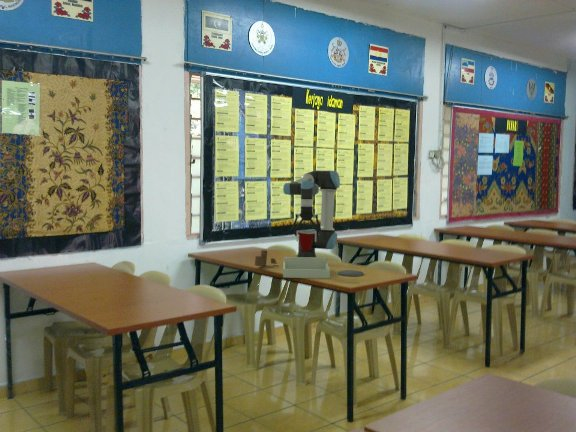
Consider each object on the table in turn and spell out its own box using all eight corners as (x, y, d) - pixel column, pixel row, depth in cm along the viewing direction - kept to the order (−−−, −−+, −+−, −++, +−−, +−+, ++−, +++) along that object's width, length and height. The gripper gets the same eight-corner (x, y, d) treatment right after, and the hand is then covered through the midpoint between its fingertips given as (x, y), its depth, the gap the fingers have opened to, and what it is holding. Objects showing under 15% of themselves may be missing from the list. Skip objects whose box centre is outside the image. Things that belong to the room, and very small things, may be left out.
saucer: (336, 271, 383) (336, 270, 383) (361, 271, 383) (361, 270, 383) (338, 276, 367) (338, 274, 367) (365, 276, 367) (365, 275, 367)
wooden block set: (260, 269, 389) (261, 253, 388) (249, 266, 394) (251, 251, 393) (276, 265, 404) (278, 250, 403) (266, 263, 409) (267, 248, 408)
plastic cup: (309, 251, 367) (310, 232, 366) (294, 250, 372) (294, 231, 371) (317, 249, 376) (318, 230, 375) (302, 248, 381) (302, 229, 380)
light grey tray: (283, 269, 389) (283, 257, 388) (326, 269, 389) (326, 257, 388) (283, 277, 361) (283, 264, 360) (329, 278, 361) (330, 264, 361)
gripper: (288, 206, 368) (287, 241, 370) (326, 206, 368) (325, 242, 370) (288, 205, 375) (287, 240, 377) (325, 205, 375) (324, 240, 377)
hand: (306, 241), depth 374 cm, fingers closed on plastic cup, 11 cm apart
